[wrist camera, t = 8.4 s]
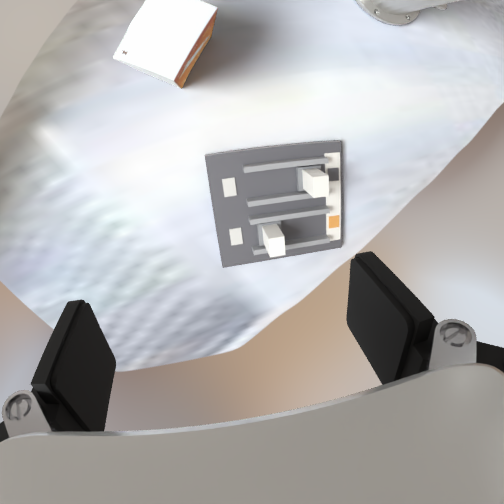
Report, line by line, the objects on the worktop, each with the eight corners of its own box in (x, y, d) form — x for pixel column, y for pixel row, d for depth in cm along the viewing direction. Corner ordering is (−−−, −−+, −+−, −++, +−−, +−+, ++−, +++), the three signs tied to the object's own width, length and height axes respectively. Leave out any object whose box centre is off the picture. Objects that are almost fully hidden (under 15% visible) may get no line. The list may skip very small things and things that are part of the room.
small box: (182, 89, 35) (173, 83, 23) (137, 71, 33) (109, 58, 21) (213, 35, 32) (219, 6, 21) (168, 17, 30) (155, -18, 19)
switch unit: (337, 140, 41) (345, 142, 39) (339, 244, 48) (345, 251, 46) (204, 154, 39) (205, 158, 37) (222, 264, 47) (223, 272, 45)
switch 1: (279, 218, 44) (288, 233, 39) (280, 239, 45) (290, 256, 41) (256, 222, 43) (263, 237, 39) (258, 243, 45) (265, 260, 40)
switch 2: (318, 164, 41) (333, 172, 36) (319, 186, 42) (333, 197, 38) (295, 166, 41) (307, 175, 36) (297, 189, 42) (309, 201, 38)
